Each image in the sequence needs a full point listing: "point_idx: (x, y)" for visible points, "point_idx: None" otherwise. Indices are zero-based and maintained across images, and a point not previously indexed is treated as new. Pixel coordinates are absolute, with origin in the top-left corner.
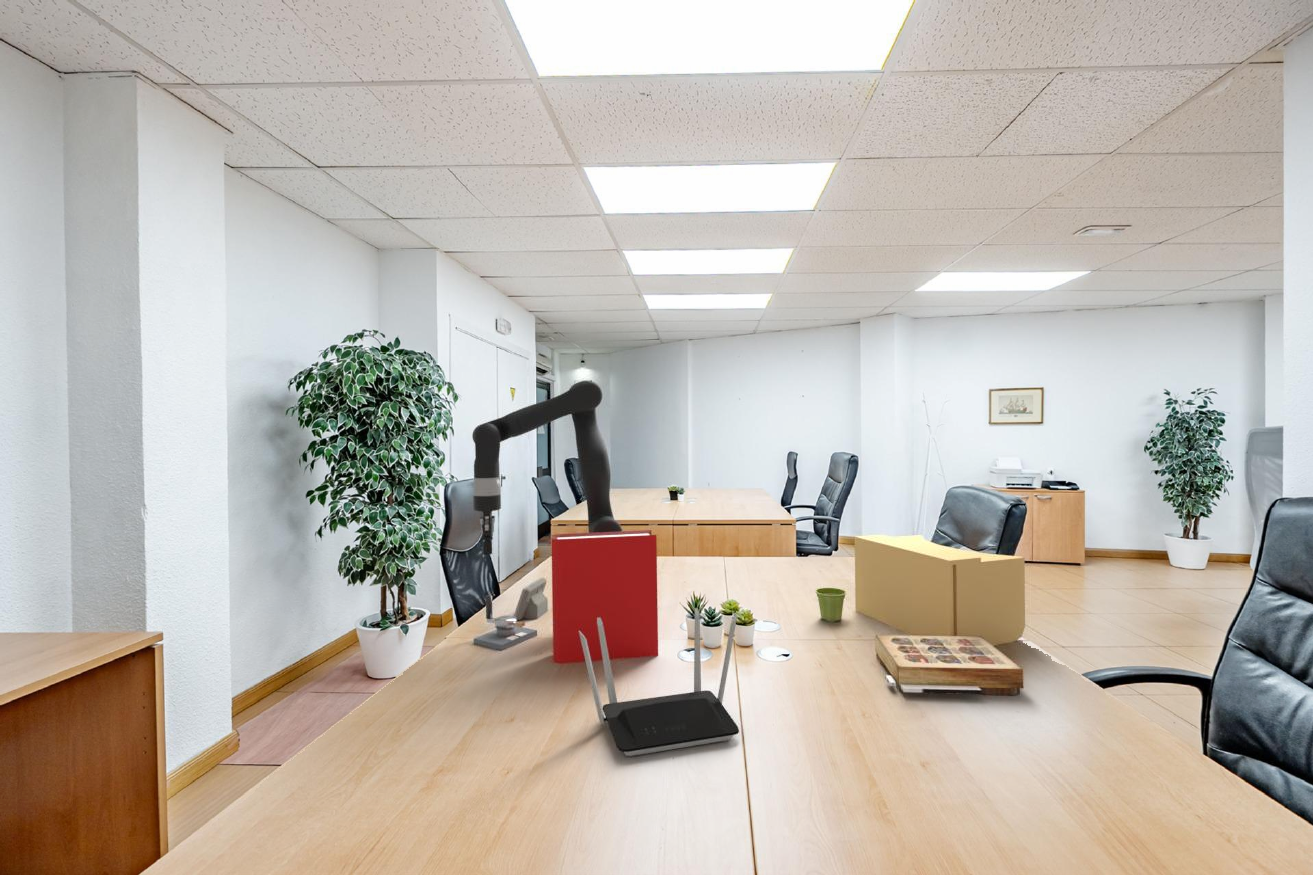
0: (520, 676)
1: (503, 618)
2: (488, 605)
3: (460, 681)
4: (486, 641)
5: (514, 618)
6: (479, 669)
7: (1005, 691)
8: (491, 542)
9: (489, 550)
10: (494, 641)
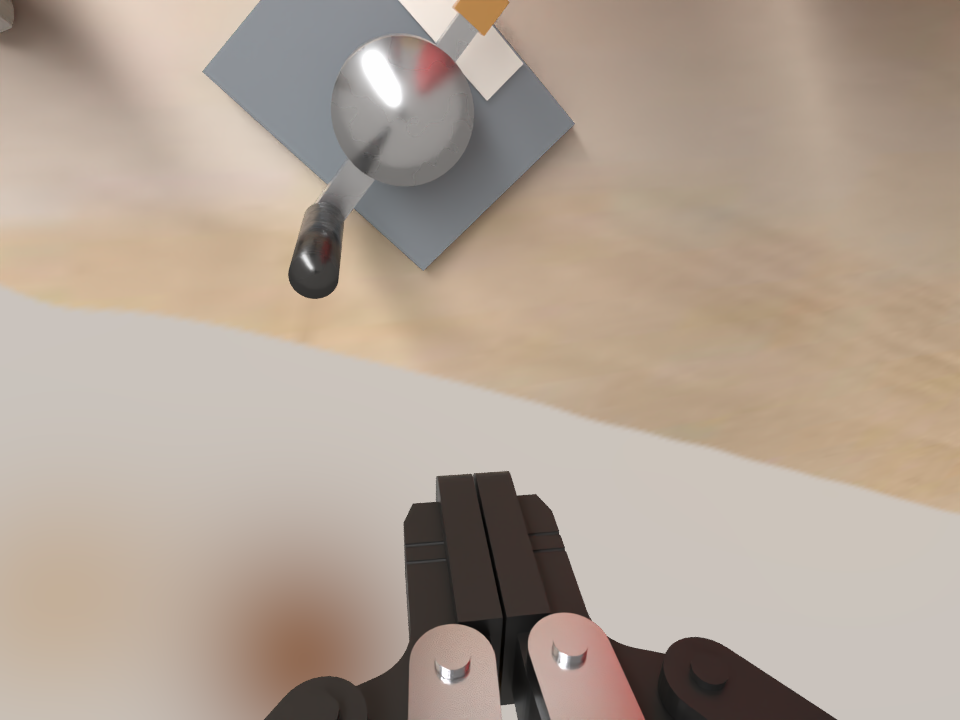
0: (928, 29)
1: (395, 130)
2: (340, 254)
3: (835, 274)
4: (489, 205)
5: (416, 51)
6: (757, 213)
7: None
8: (542, 599)
9: (550, 526)
10: (505, 163)
